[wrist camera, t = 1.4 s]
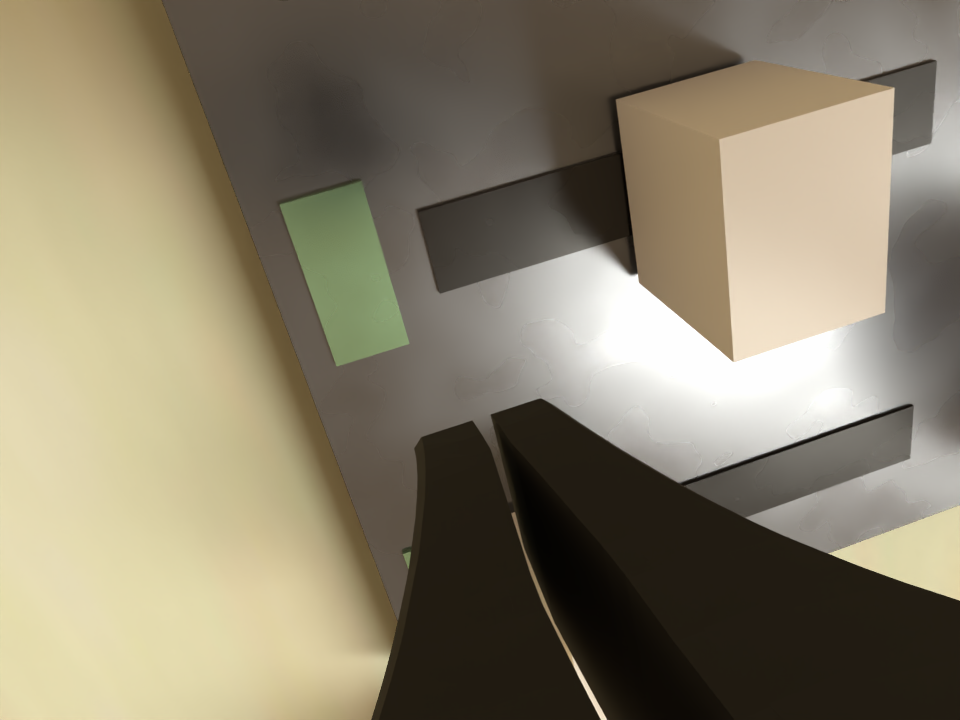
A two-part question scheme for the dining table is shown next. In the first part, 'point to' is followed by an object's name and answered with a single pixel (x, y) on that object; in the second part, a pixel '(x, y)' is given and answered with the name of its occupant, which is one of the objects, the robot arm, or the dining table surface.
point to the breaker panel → (576, 245)
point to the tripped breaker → (761, 201)
